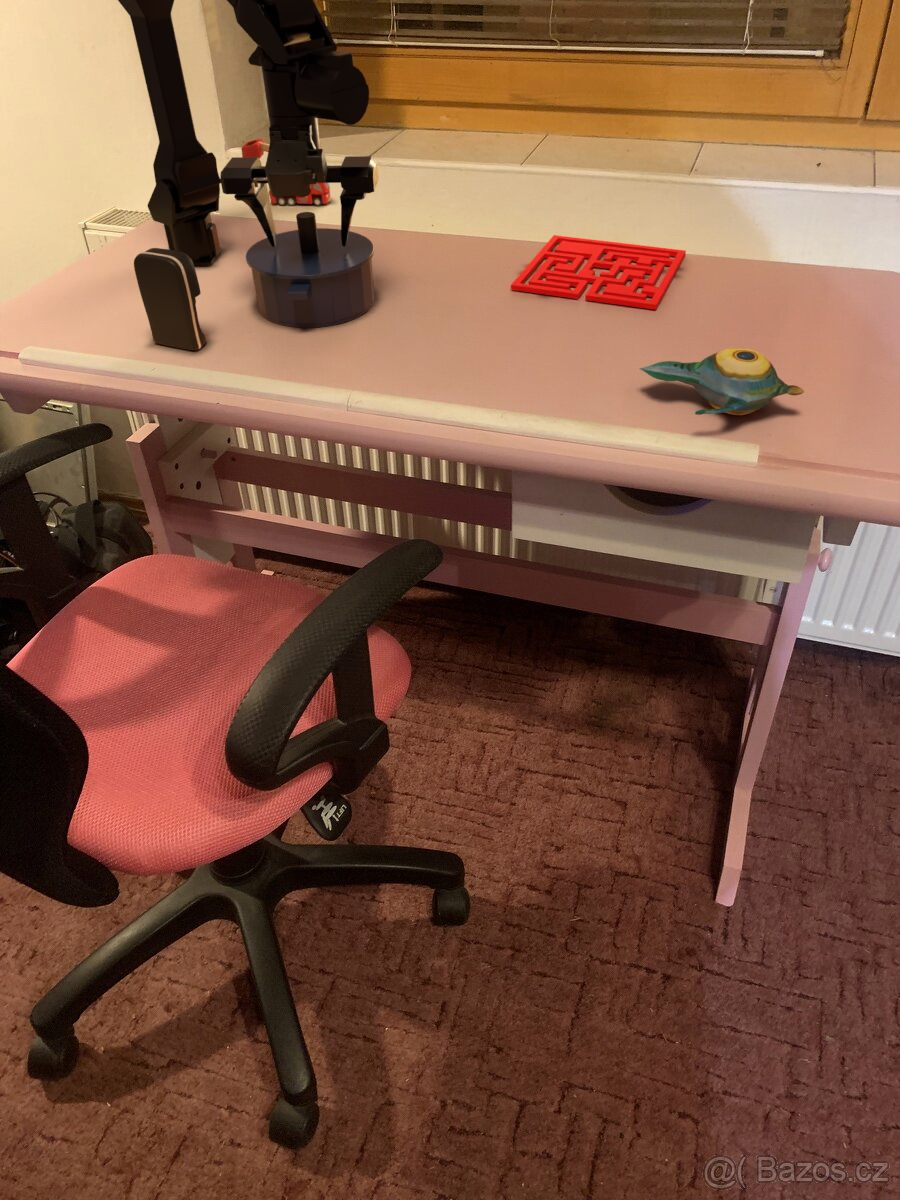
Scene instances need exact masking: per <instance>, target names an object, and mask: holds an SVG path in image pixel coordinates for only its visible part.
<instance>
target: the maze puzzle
mask: <svg viewBox="0 0 900 1200" xmlns="http://www.w3.org/2000/svg"><path fill="white" fill-rule="evenodd" d="M558 243H559V244H558ZM557 244H558V245H557ZM556 246H557V247H556ZM555 247H556V248H555ZM554 248H555V249H554ZM553 249H554V251H552V250H553ZM686 252H687V250H684V249H675V248H667V247H658V246H652V245H651V246H650V245H641V244H634V243H626V242H617V241H607V240H598V239H591V238H582V237H575V236H566V235H565V236H564V235H555V234H554V235H553V236H552V237H550V239H549V240H548V241H547V242H546V244H545V245H544V246H543V247H542V248H541V249H540V251H538V252H537V254H536V255H535V256H534V257H533V259H531V261H530V262H529V263H528V264H527V265H526V266H525V268H524V269H523V270H522V271H521V273H519V275H518V276H517V277H516V278H515V279H514V281H512V283H510V291H518V292H526V293H533V294H537V295H538V294H539V295H547V296H554V297H561V298H568V299H574V300H575V299H576V300H578V299H579V298H580V297H581V296H582V295H583V293H584V292H585V290H586V288H587V287H588V284H592V285H591V286H590V288H589V289H588V291H586V293H585V294H584V301H589V302H590V301H591V302H596V303H597V302H598V303H604V304H611V305H619V306H625V307H634V308H639V309H640V308H641V309H648V310H653V311H654V310H655V311H656V310H657V308H658V306H659V305H660V303H661V301H662V299H663V297H664V296H665V294H666V292H667V290H668V289H669V287H670V284H671V282H672V281H673V279H674V277H675V275H676V273H677V272H678V269H679V267H680V266H681V264H682V262H683V260H684V258H685V257H686ZM604 254H605V256H604V257H603V260H600V259H601V258H602V256H603V255H604ZM670 257H674V258H670ZM544 259H546V260H545V261H544ZM585 259H587V261H586V263H585V264H584V265H583V267H582V268H581V270H580V271H579V272H578V273H577V271H578V270H579V269H580V267H581V265H582V264H583V263H584V262H585ZM613 260H615V261H613ZM569 262H572V263H571V264H569ZM632 262H634V263H636V264H632ZM541 263H542V265H541ZM540 265H541V266H540ZM553 265H554V267H553ZM653 265H655V267H654V266H653ZM539 266H540V267H539ZM666 266H668V269H667V271H666V273H665V275H664V276H663V278H662V280H661V281H660V283H659V285H658V286H655V285H656V283H657V281H658V280H659V278H660V276H661V274H662V272H663V271H664V269H665V267H666ZM538 267H539V268H538ZM552 267H553V270H552V269H551V268H552ZM537 268H538V269H537ZM593 268H598V269H607V270H609V271H600V273H599V275H596V270H594V269H593ZM534 271H536V272H535V273H534ZM620 271H621V272H622V273H621V274H620V276H619V277H618V278H616V277H617V275H618V274H619V272H620ZM533 273H534V274H533ZM532 274H533V275H532ZM646 274H647V275H649V277H648V278H647V279H644V278H645V277H646ZM531 275H532V276H531ZM530 277H531V278H530ZM529 278H530V279H529ZM543 278H545V280H543ZM528 279H529V280H528ZM527 280H528V281H527ZM526 281H527V282H528V283H525V282H526ZM628 281H631V282H630V284H629V285H626V284H627V282H628ZM603 286H605V288H604V289H603V291H602V293H599V291H600V290H601V288H602V287H603ZM571 287H574V289H571ZM639 287H640V288H642V289H641V291H640V292H637V290H638V289H639ZM647 297H650V298H651V300H647Z"/></svg>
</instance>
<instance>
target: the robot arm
mask: <svg viewBox="0 0 900 1200" xmlns="http://www.w3.org/2000/svg"><path fill="white" fill-rule="evenodd" d="M117 1H118V2H119V4H120V5H121V6H122V8H123V9H124V10H125V12H126V13H127V14H128V15H129V17H130V21H131V25H132V29H133V34H134V38H135V43H136V47H137V51H138V54H139V59H140V64H141V68H142V72H143V76H144V81H145V85H146V89H147V95H148V99H149V102H150V107H151V111H152V115H153V119H154V124H155V129H156V133H157V137H158V146H157V149H156V153H155V157H154V161H153V164H152V166H153V167H152V168H153V174H154V181H155V186H154V188H153V191H152V193H151V196H150V197H149V201H148V203H147V209H148V211H149V213H150V217H151V218H152V221H153V222H157V223H160V224H163V228H164V232H165V237H166V241H167V245H168V250H174V251H179V252H183V253H185V254H187V255H188V256H189V257H190V258H191V260H192V262H193V264H194V267H196V266H197V267H201V266H203V267H204V266H205V267H209V266H212V265H213V264H214V262H215V260H216V259H217V257H218V256H219V254H220V253H221V251H222V248H221V245H220V244H221V243H220V239H219V233H218V229H217V223H215V222H213V221H212V215H211V213H214V212H215V213H216V212H219V211H220V194H221V191H222V193H223V194H225V195H234V196H233V197H234V199H235V201H239V202H243V203H244V204H245V205H246V206H248V207H249V208H250V210H251V211H252V213H253V214H254V216H255V217H256V218H257V221H258V223H259V224H260V226H261V228H262V230H263V232H264V234H265V236H266V238H268V240H269V242H270V244H271V246H272V247H275V246H276V234H277V232H276V225H275V221H274V217H273V210H272V207H271V206H272V205H271V199H270V194H269V191H270V193H271V195H272V196H273V197H277V198H281V197H282V196H297V197H306V196H308V195H309V194H310V193H311V185H312V184H317V183H329V184H340V187H341V188H342V191H341V193H340V195H339V200H340V230H341V239H342V246H346V243H347V239H348V234H349V231H350V228H351V224H352V220H353V215H354V210H355V206H356V204H357V201H361V200H364V199H365V198H366V195H367V194H371V193H374V192H375V191H376V189H377V186H378V185H377V184H378V182H379V164H378V161H377V160H376V159H375V158H374V156H373V155H358V156H356V155H355V156H354V155H353V156H350V155H349V156H347V155H346V156H345V157H344V158H343V160H342V162H341V165H328V163H327V157H326V154H325V152H324V149H323V148H322V146H321V138H320V137H321V136H320V130H319V129H320V128H319V120H323V121H328V122H332V123H338V124H341V125H347V126H354V125H356V124H357V123H359V122H360V121H361V120H362V119H363V118H364V116H365V114H366V112H367V109H368V106H369V100H370V88H369V84H368V83H367V80H366V77H365V76H364V74H363V72H362V71H361V70H360V69H359V68H358V67H356V66H354V58H353V54H352V53H351V52H345V51H343V52H338V46H337V44H336V42H335V40H334V38H333V35H332V33H331V31H330V30H329V28H328V26H327V25H326V22H325V21H324V19H323V17H322V15H321V13H320V11H319V10H318V9H319V8H318V7H317V5H316V4H315V1H314V0H225V1H226V2H227V3H228V4H229V5H230V6H231V7H232V8H233V11H234V17H235V20H236V23H237V24H238V25H239V27H240V28H241V29H242V30H243V31H244V33H246V34H247V36H248V37H249V38H250V39H251V40H252V42H254V43H255V45H256V48H255V50H254V51H253V52H252V53H251V54H250V55H249V57H248V64H249V65H250V66H254V67H260V68H261V73H262V80H263V87H264V95H265V100H266V108H267V116H268V122H269V123H268V124H269V127H268V132H269V134H268V135H269V144H270V145H269V151H268V152H267V156H266V162H265V166H264V165H262V162H261V160H260V159H261V158H260V159H259V157H242V156H241V157H238V156H237V157H231V158H230V159H229V160H228V162H227V163H226V165H225V166H224V167H223V168H222V169H221V171H220V174H219V171H218V164H217V158H216V155H215V154H214V153H213V152H208V151H207V150H206V148H205V147H204V146H203V144H201V142H200V141H199V139H198V138H197V134H196V129H195V124H194V120H193V116H192V109H191V104H190V100H189V96H188V91H187V86H186V81H185V77H184V72H183V67H182V62H181V57H180V52H179V47H178V43H177V37H176V33H175V27H174V24H173V23H174V22H173V17H172V11H173V7H174V3H175V0H117ZM309 39H310V40H309ZM220 185H221V187H220ZM268 188H269V189H268Z"/></svg>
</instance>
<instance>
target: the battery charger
mask: <svg viewBox="0 0 900 1200" xmlns="http://www.w3.org/2000/svg"><path fill="white" fill-rule="evenodd" d="M195 267H196V266H194V264H193V262H192V260H191V258H190V257H189V256H188V255H187V254H185V253H183V252H179V251H174V250H169V248H159V247H151V248H149V249H147V250H145V251H142V252H139V253H138V254H136V256H135V257H134V259H133V268H134V273H135V278H136V282H137V286H138V290H139V293H140V296H141V299H142V303H143V307H144V310H145V312H146V316H147V320H148V324H149V327H150V331H151V336H152V340H153V342H154V343H155V344H158V345H164V346H166V347H167V346H168V347H172V348H176V349H183V350H189V351H197V350H200V349H201V348H202V347H203V346H204V345H205V344H206V342H207V337H206V335H205V334H204V332H203V330H202V329H201V325H200V322H199V316H198V310H197V305H196V304H197V299H196V298H197V297H198V296H200V295H201V294H202V293H201V288H200V284H199V279H198V274H197V271H196V268H195Z"/></svg>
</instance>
